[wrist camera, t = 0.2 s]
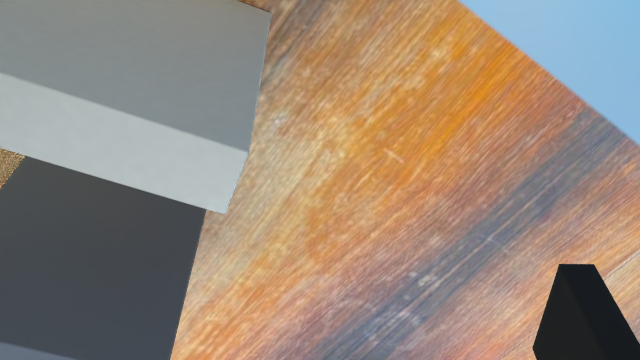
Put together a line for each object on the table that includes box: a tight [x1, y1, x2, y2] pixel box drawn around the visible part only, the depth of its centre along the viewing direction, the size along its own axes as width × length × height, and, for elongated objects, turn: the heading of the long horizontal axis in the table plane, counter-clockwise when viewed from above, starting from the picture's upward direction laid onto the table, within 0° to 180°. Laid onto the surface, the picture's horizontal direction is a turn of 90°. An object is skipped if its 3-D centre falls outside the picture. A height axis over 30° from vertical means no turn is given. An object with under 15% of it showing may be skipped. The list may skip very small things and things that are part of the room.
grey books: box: [0, 156, 206, 360], centre depth 34 cm, size 7×11×17 cm, turn 68°
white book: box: [0, 0, 272, 214], centre depth 27 cm, size 3×11×16 cm, turn 68°
